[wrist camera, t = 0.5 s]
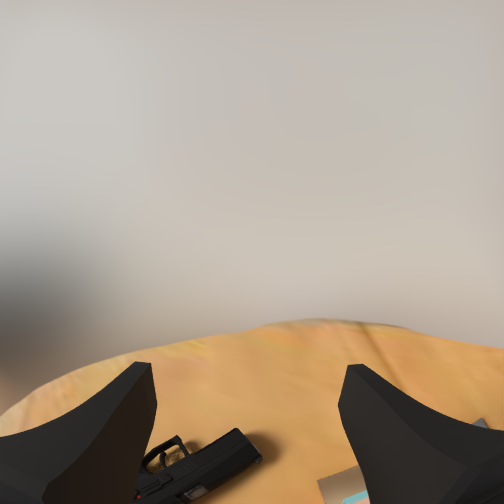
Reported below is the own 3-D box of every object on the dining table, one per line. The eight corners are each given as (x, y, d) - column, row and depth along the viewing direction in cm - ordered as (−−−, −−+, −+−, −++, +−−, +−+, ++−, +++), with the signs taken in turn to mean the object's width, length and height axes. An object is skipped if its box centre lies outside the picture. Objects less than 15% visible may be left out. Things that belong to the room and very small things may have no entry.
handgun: (204, 391, 33) (268, 464, 24) (83, 457, 25) (120, 544, 16) (194, 373, 31) (262, 451, 22) (66, 443, 24) (99, 537, 14)
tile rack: (423, 518, 14) (427, 516, 14) (343, 554, 14) (344, 554, 13) (391, 452, 21) (393, 449, 20) (317, 482, 20) (317, 480, 20)
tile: (399, 496, 17) (413, 482, 15) (344, 520, 17) (348, 512, 14) (394, 485, 18) (407, 470, 16) (339, 509, 18) (342, 499, 15)
